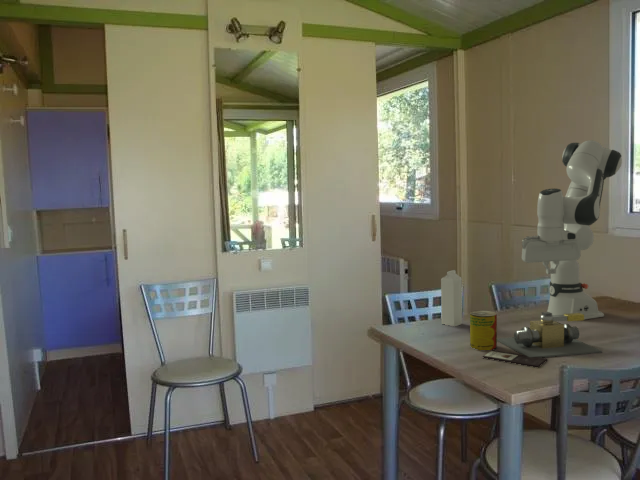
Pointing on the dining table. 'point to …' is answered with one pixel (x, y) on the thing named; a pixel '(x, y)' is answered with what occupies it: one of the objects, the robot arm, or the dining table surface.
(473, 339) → the yellow tin can
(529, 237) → the robot arm
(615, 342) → the dining table surface
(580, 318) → the lever
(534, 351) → the mat
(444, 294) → the milk
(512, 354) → the chocolate bar
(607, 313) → the dining table surface
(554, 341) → the valve body
